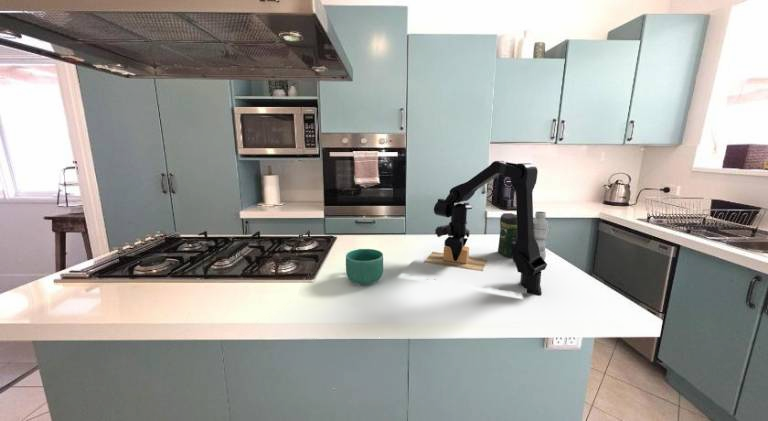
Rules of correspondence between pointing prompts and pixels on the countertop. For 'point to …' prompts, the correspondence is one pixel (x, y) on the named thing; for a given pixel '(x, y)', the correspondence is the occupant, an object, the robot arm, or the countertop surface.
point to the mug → (364, 266)
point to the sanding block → (462, 257)
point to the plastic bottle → (540, 231)
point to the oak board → (471, 264)
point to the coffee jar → (507, 233)
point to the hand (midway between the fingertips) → (456, 258)
